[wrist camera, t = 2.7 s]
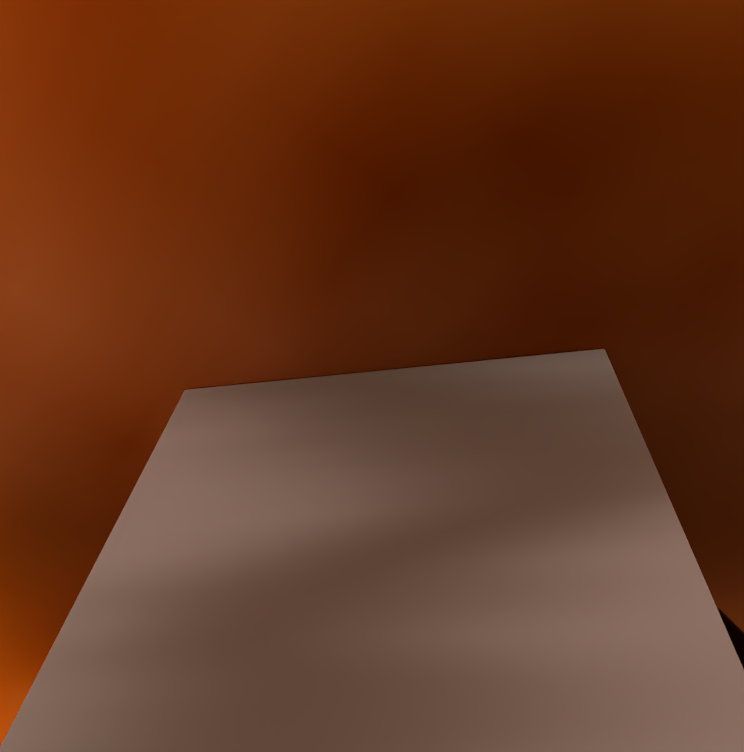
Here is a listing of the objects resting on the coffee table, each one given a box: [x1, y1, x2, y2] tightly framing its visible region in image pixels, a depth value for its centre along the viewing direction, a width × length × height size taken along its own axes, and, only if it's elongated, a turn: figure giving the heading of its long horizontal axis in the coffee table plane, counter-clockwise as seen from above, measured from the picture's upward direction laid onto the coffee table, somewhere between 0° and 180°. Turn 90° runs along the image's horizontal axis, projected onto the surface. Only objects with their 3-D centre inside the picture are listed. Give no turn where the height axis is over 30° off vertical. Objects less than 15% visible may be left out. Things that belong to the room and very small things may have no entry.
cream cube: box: [0, 349, 744, 752], centre depth 8 cm, size 5×5×5 cm
